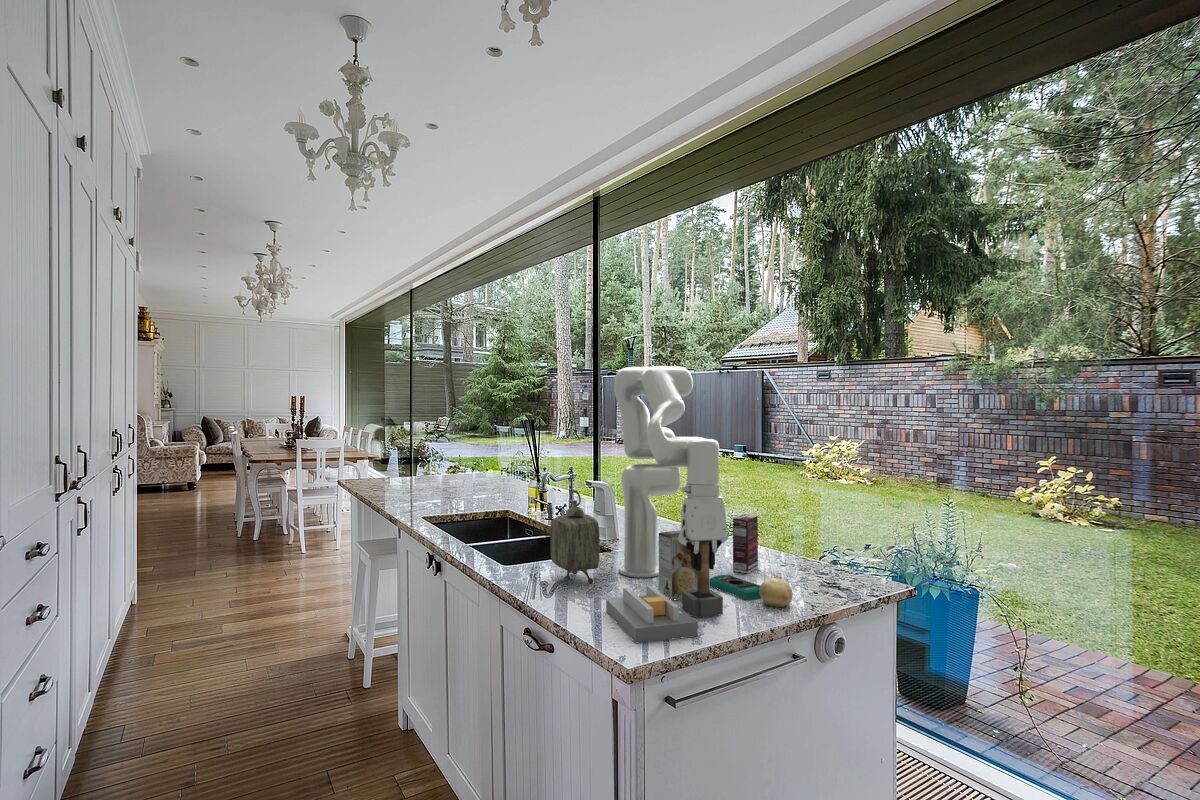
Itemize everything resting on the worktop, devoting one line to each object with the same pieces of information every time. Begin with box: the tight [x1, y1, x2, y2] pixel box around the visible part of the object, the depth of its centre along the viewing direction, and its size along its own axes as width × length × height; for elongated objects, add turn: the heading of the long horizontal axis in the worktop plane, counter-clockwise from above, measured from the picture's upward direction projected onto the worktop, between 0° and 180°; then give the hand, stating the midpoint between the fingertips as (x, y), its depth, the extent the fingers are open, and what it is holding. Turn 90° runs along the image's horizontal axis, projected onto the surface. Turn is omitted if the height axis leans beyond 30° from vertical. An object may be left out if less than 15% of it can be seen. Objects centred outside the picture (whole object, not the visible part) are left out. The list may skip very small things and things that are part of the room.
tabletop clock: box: [549, 489, 601, 585], centre depth 171 cm, size 14×9×25 cm, turn 26°
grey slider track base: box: [605, 584, 699, 643], centre depth 138 cm, size 20×14×6 cm
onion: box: [759, 573, 794, 608], centre depth 152 cm, size 8×8×7 cm
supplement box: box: [732, 514, 759, 575], centre depth 183 cm, size 9×5×16 cm, turn 144°
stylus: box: [697, 541, 710, 594], centre depth 146 cm, size 3×3×14 cm
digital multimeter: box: [709, 574, 761, 601], centre depth 163 cm, size 7×15×3 cm, turn 31°
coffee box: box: [658, 529, 697, 601], centre depth 159 cm, size 9×6×16 cm
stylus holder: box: [681, 589, 724, 619], centre depth 146 cm, size 8×8×4 cm
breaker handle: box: [643, 597, 665, 616], centre depth 135 cm, size 3×4×3 cm
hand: (703, 568), depth 146 cm, fingers closed on stylus, 2 cm apart
